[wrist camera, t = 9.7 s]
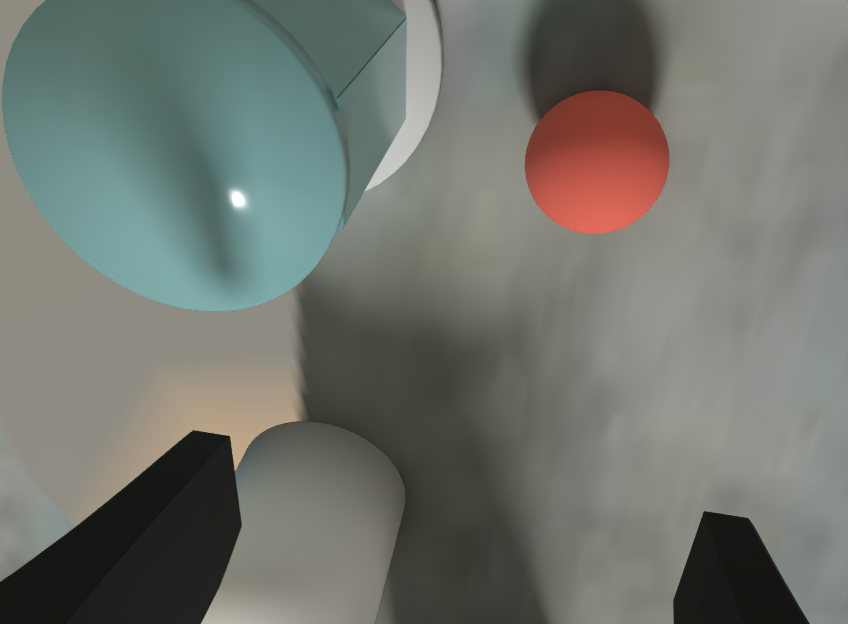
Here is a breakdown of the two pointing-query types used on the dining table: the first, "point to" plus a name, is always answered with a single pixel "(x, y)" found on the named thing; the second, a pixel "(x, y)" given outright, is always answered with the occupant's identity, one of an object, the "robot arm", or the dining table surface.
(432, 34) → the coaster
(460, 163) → the dining table surface
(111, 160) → the teal octagonal canister
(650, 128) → the red ball
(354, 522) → the white rounded cylinder
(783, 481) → the dining table surface
